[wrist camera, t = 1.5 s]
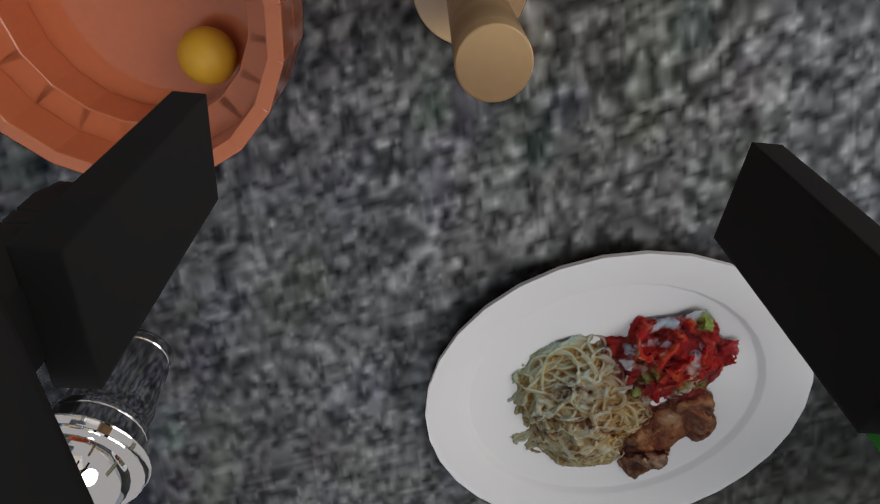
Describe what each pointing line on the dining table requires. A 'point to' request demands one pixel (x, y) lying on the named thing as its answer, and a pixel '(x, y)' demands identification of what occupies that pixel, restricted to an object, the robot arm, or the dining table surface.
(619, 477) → the plated food
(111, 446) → the cup with straw
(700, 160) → the dining table surface
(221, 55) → the bead
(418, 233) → the dining table surface
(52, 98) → the bowl
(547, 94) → the dining table surface
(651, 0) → the dining table surface
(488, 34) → the masher
